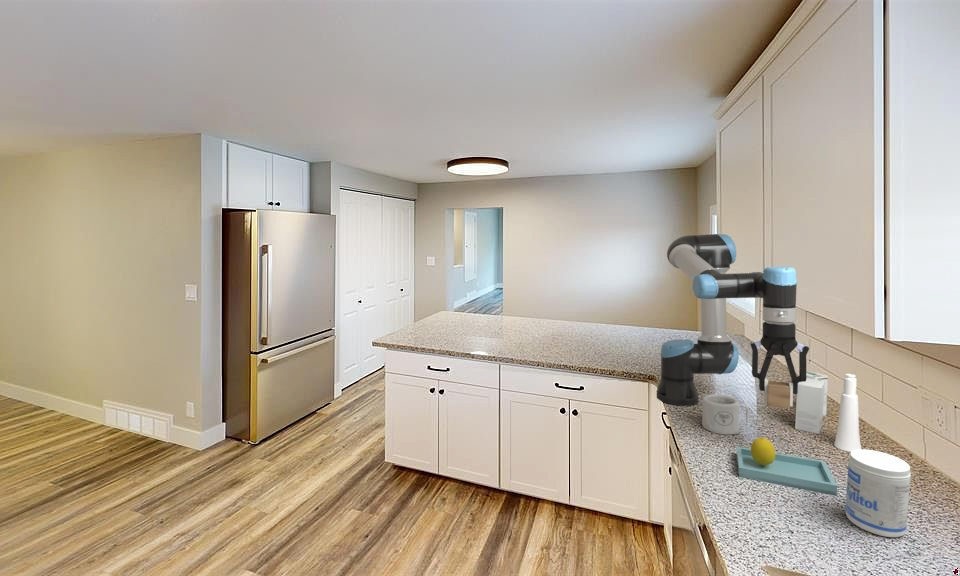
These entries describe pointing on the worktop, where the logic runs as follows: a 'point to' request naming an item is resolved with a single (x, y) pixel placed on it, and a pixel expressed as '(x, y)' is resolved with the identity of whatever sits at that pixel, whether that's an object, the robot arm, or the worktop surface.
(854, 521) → the supplement tub
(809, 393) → the skincare box
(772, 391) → the walnut block
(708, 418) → the mug
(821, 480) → the tray
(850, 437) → the cosmetic bottle
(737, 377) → the worktop surface
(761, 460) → the lemon
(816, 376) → the syrup box
